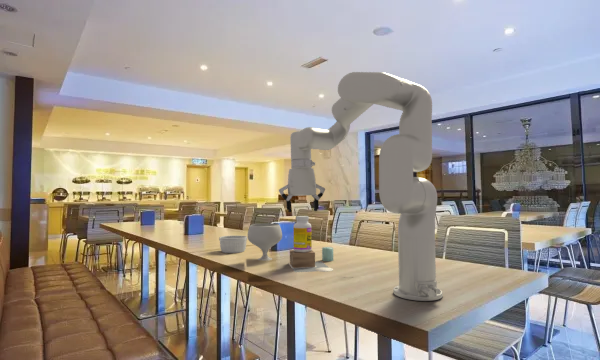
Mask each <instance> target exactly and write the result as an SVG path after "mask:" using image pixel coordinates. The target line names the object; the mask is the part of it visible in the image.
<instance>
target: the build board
mask: <svg viewBox="0 0 600 360" xmlns="http://www.w3.org/2000/svg"><path fill="white" fill-rule="evenodd" d="M288 265H289V267H291V269H292V270H293V272H294V273H312V272H320V273H321V272H322V273H325V272H326V273H327V272H332V271H334V268H332V267H329V266H328V265H326V263H324V261H315V267H300V268H293V267H292V266H291V264H290V262H288Z"/></svg>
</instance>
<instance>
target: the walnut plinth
mask: <svg viewBox="0 0 600 360" xmlns="http://www.w3.org/2000/svg"><path fill="white" fill-rule="evenodd" d="M315 262H316V252H315V251H314V250H313V249H312V250H311V251H310V252H295V251H294V249H289V263H290V264H291V266H292V267H293V268H300V267H315ZM291 266H290V267H291Z"/></svg>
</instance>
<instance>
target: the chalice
mask: <svg viewBox="0 0 600 360" xmlns="http://www.w3.org/2000/svg"><path fill="white" fill-rule="evenodd" d="M282 239H283V231H282V228H281V225H280V224H279V223H253V224H250V226H249V227H248V231H247V240H248V241H249V243H251V244H252V245H254V246H255V247H257V248H259V249H260V250H261V252H262V255H261V257H260V258H257V260H258V261H265V262H266V261H272V260H273V258H272V257H269V256H268V255H269V254H268V252H269V250H270V249H271V248H272V247H274V246H275V245H276V244H278V243H280V242H281V240H282Z"/></svg>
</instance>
